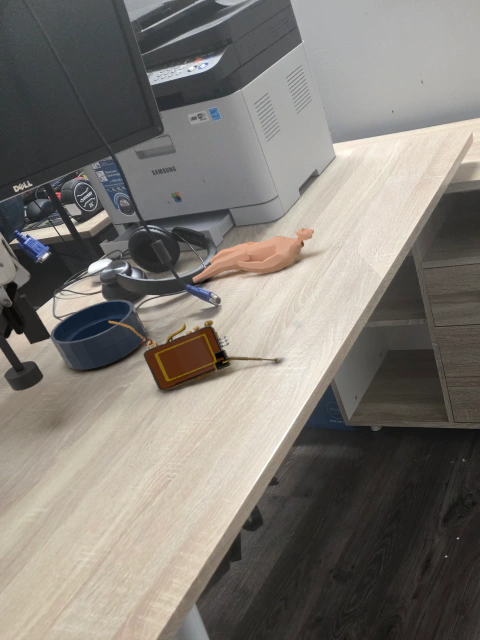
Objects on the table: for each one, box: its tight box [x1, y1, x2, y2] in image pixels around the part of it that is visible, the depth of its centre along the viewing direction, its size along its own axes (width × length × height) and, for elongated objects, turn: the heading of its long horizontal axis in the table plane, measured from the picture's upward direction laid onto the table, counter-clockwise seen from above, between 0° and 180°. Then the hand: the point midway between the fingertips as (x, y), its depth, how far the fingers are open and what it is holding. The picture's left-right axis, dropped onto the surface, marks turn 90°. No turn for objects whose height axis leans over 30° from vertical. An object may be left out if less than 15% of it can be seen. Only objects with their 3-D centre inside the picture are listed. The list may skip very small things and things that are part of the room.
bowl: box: [50, 299, 147, 371], centre depth 110 cm, size 14×14×6 cm
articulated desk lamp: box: [0, 291, 51, 392], centre depth 92 cm, size 16×4×9 cm, turn 16°
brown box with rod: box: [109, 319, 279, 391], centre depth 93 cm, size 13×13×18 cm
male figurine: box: [192, 227, 315, 284], centre depth 124 cm, size 11×5×25 cm
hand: (15, 331), depth 92 cm, fingers closed on articulated desk lamp, 1 cm apart
